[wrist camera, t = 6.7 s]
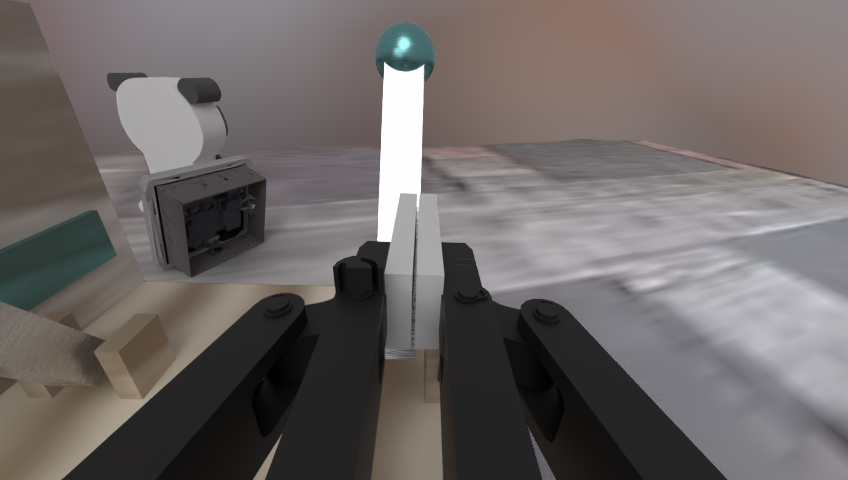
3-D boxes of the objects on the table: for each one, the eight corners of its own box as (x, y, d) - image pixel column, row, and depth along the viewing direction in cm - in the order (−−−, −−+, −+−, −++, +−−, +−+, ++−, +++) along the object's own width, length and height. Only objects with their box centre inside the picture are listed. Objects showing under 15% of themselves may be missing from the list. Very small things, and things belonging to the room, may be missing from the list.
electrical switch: (246, 231, 37) (233, 149, 33) (280, 246, 36) (272, 162, 31) (154, 271, 30) (121, 171, 25) (193, 293, 28) (164, 190, 23)
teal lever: (357, 363, 15) (372, 4, 16) (367, 345, 18) (379, 46, 19) (428, 364, 15) (438, 7, 16) (425, 346, 18) (433, 49, 20)
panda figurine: (262, 191, 49) (240, 77, 42) (200, 222, 39) (158, 79, 32) (191, 182, 51) (159, 72, 44) (115, 209, 41) (58, 72, 34)
